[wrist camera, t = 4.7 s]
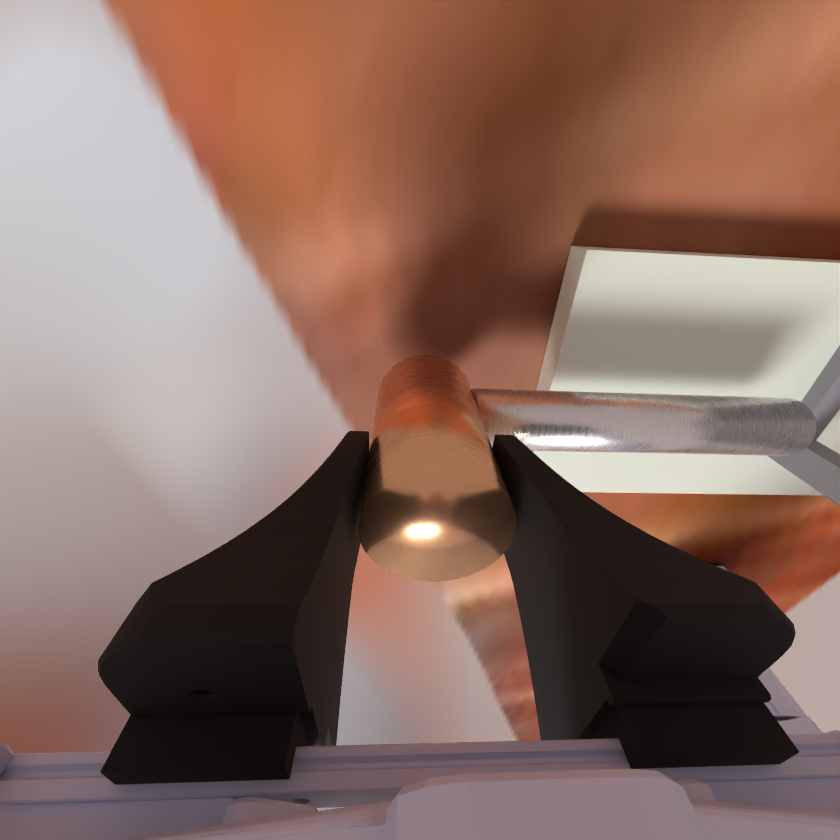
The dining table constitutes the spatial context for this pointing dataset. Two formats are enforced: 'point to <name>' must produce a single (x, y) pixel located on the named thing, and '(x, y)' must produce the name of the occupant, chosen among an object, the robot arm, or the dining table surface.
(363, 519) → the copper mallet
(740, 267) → the eye stand
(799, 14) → the dining table surface
